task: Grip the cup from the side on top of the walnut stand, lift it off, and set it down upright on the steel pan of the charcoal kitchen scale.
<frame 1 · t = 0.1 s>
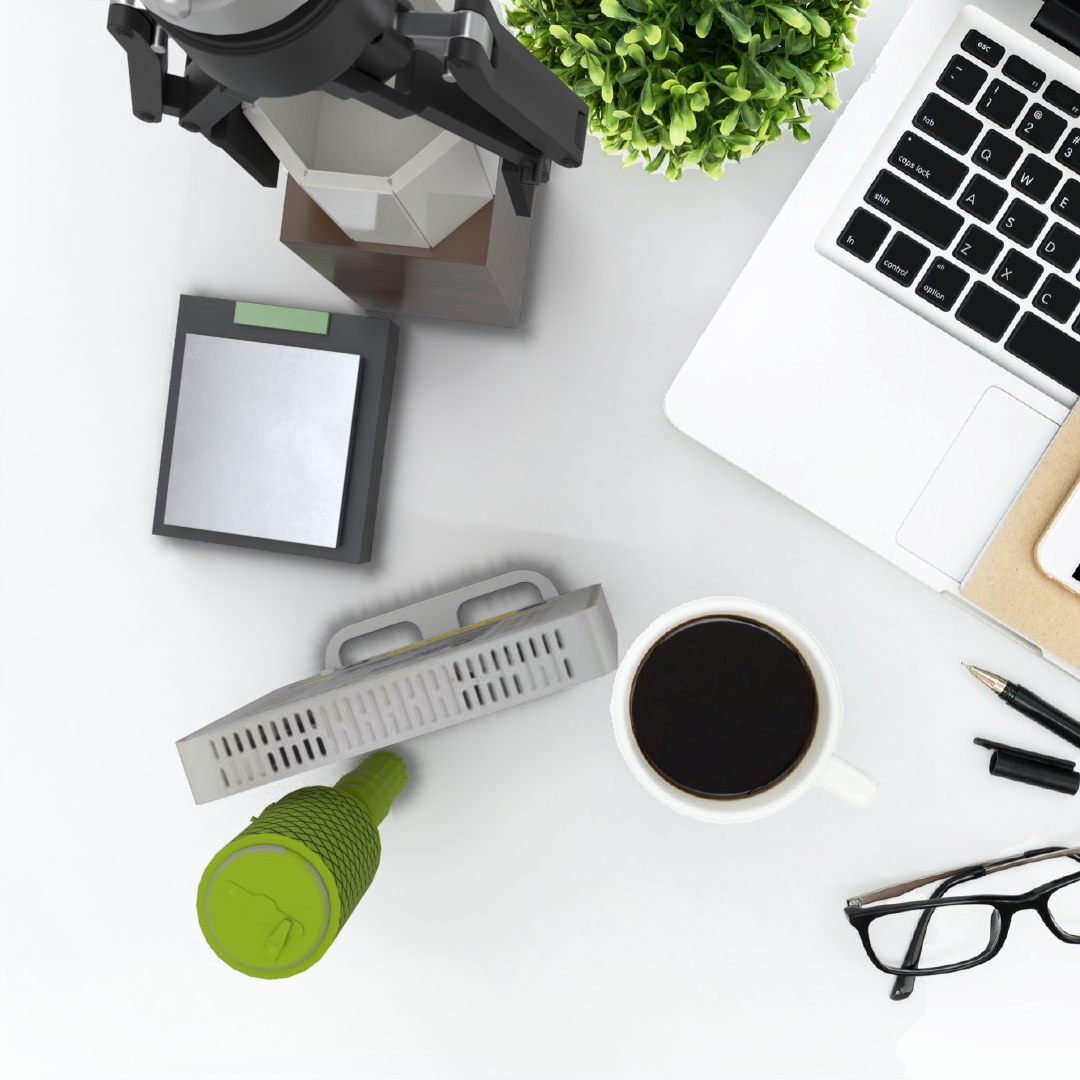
hand: (398, 176, 49), 22 cm above the table, tool pointing down, fingers open, 13 cm apart
scale: (283, 432, 72), on the table
scale pan: (263, 441, 68), point 4 cm above the table, slide at 0.1 cm
network device: (449, 651, 71), on the table
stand: (450, 239, 70), on the table
cup: (403, 146, 52), point 18 cm above the table, touching gripper, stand
microphone: (382, 771, 72), on the table
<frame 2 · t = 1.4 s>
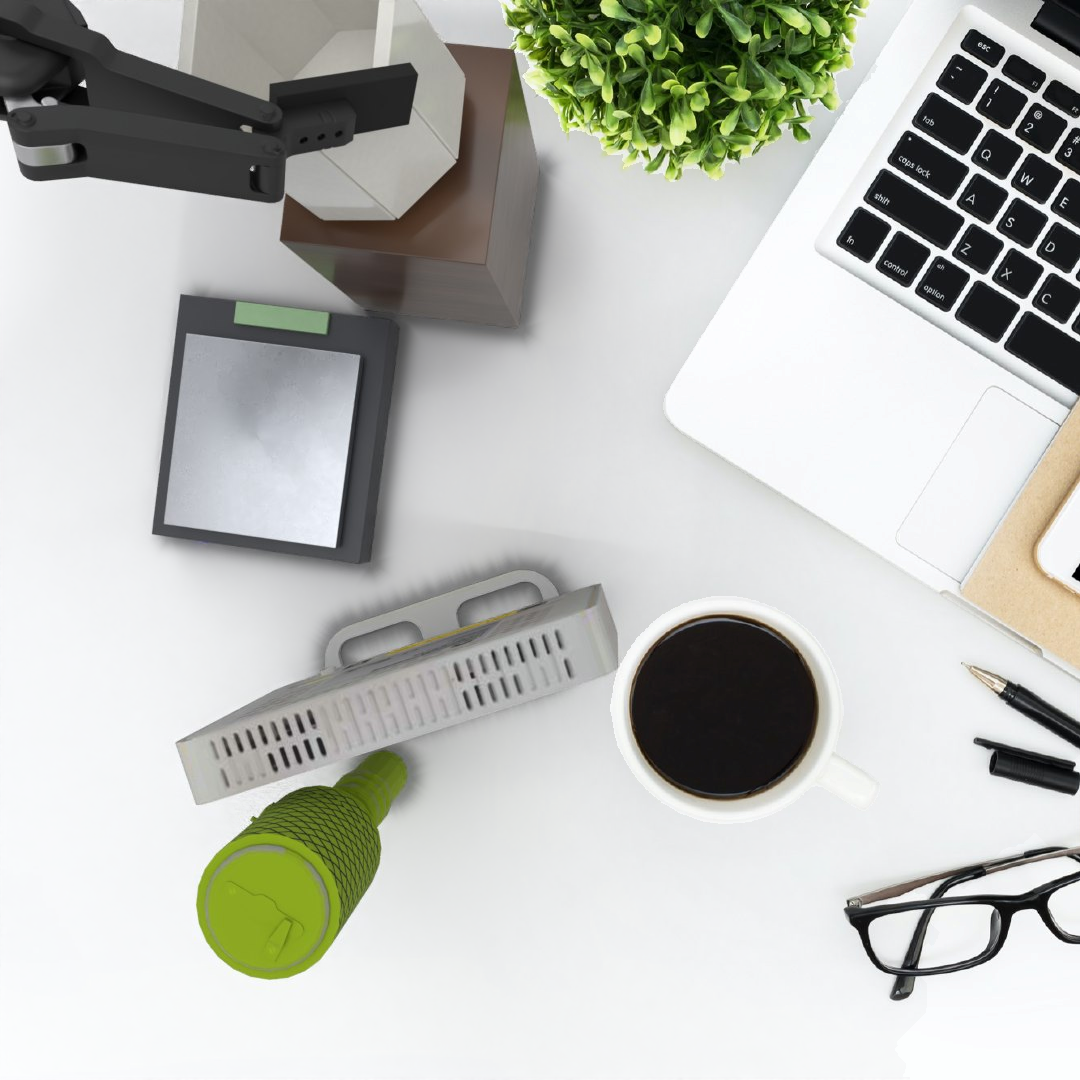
cup: (368, 121, 51), point 19 cm above the table, tilted 11°, touching gripper, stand
everything else where it was.
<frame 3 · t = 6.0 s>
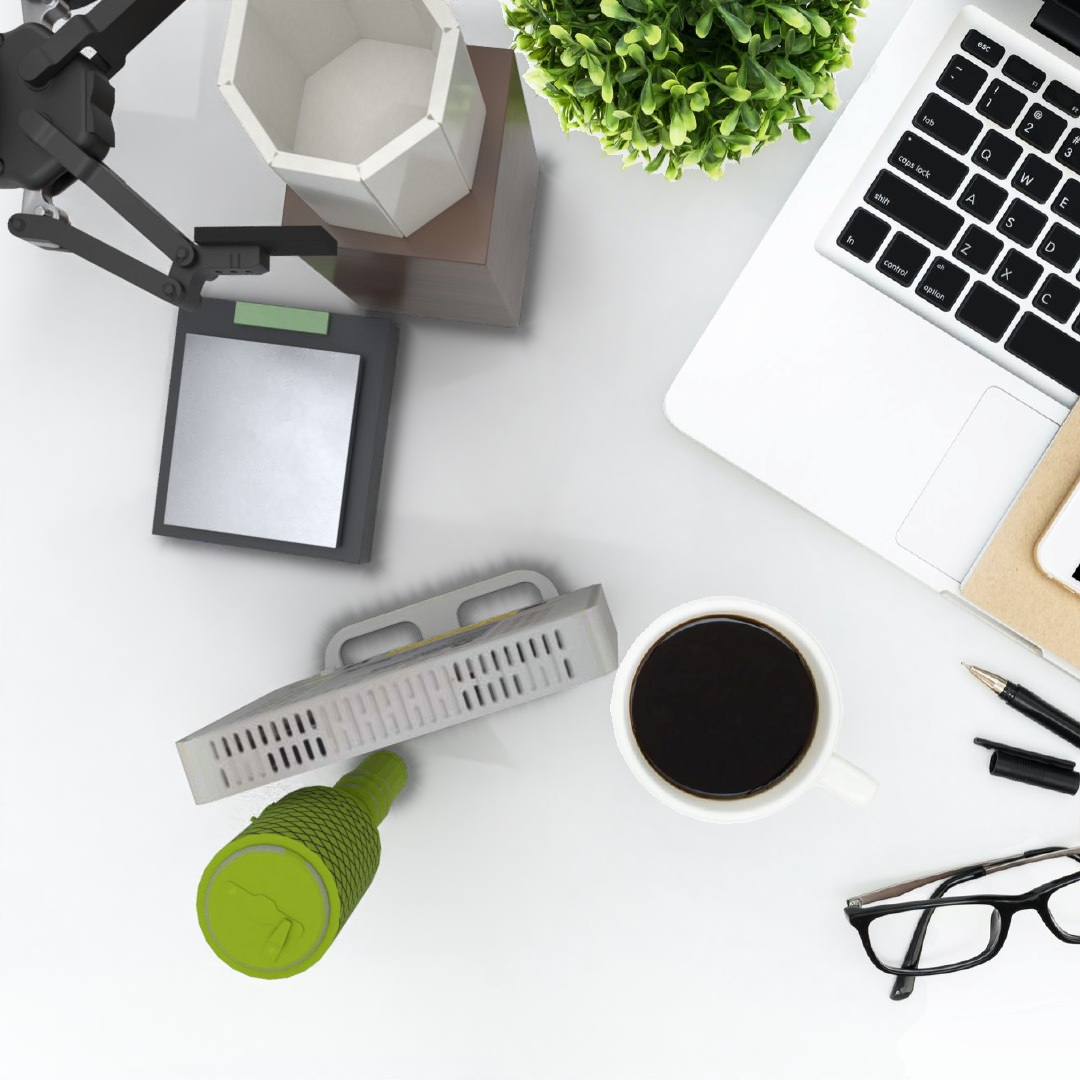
hand: (331, 105, 47), 23 cm above the table, tool horizontal, fingers open, 13 cm apart
cup: (384, 134, 52), point 18 cm above the table, touching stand
everything else where it was.
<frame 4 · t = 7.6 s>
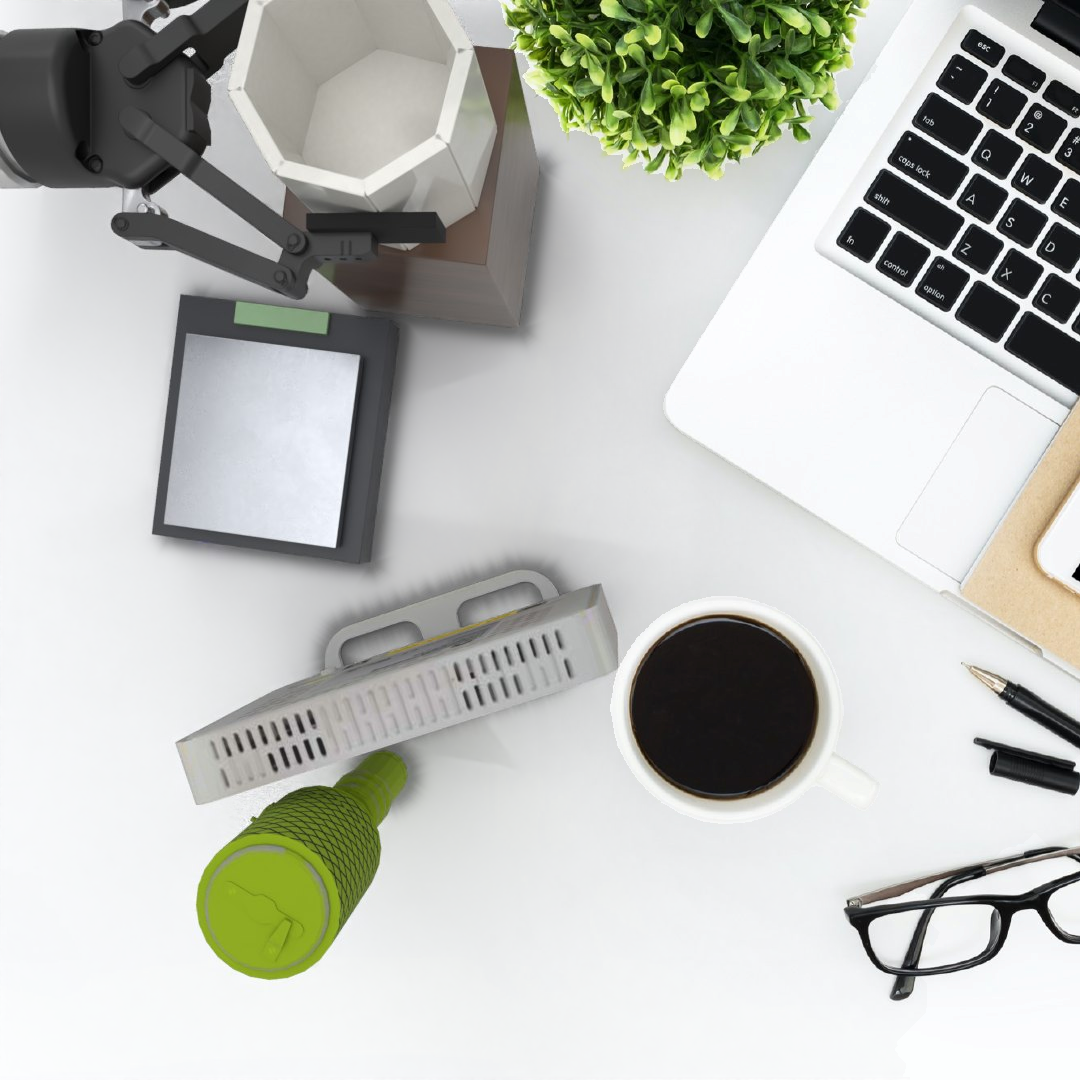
hand: (442, 102, 47), 23 cm above the table, tool horizontal, fingers closed on cup, 12 cm apart
cup: (393, 146, 52), point 18 cm above the table, touching gripper, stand
everything else where it was.
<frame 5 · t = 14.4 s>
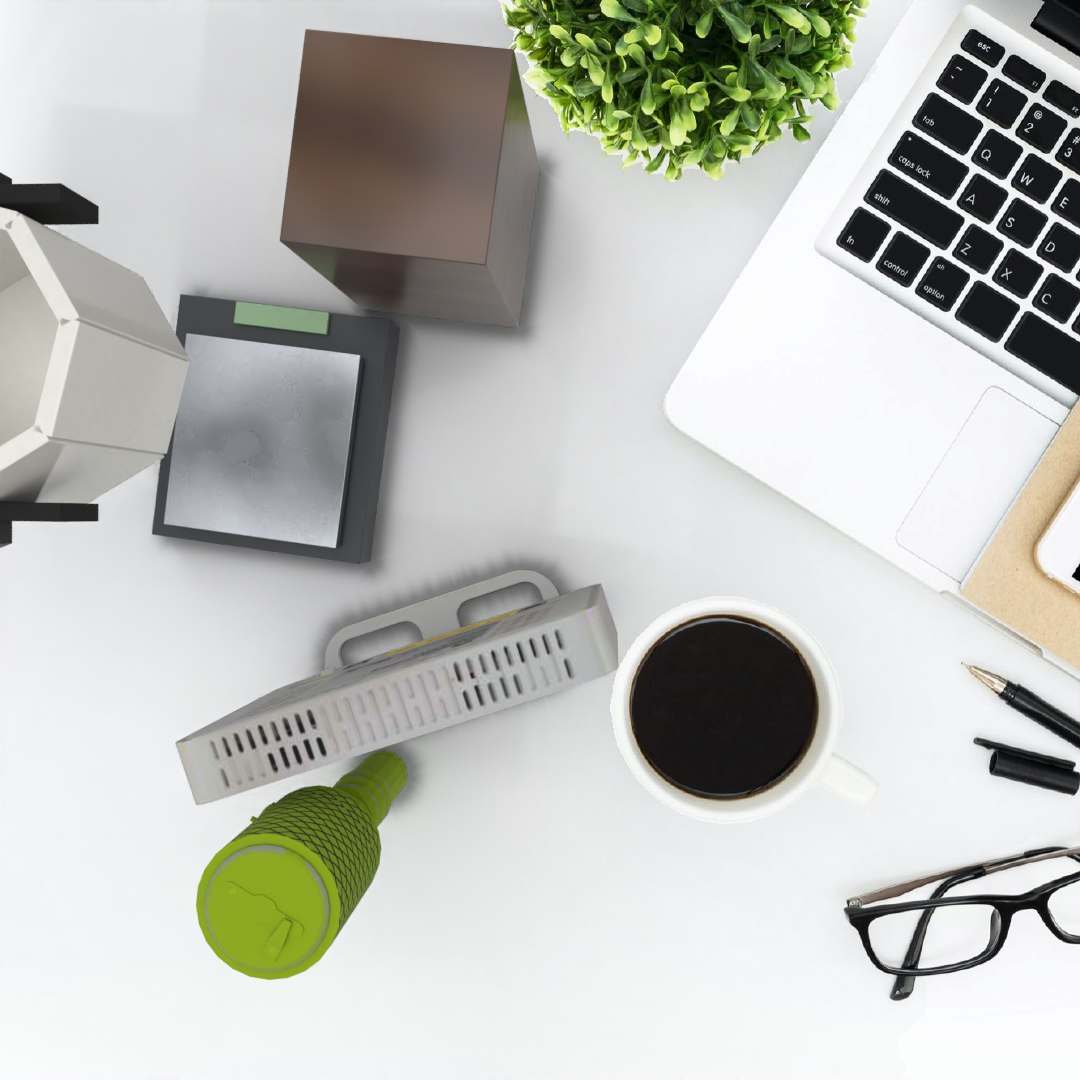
hand: (81, 359, 38), 34 cm above the table, tool horizontal, fingers closed on cup, 12 cm apart
cup: (68, 378, 43), point 28 cm above the table, touching gripper
everything else where it was.
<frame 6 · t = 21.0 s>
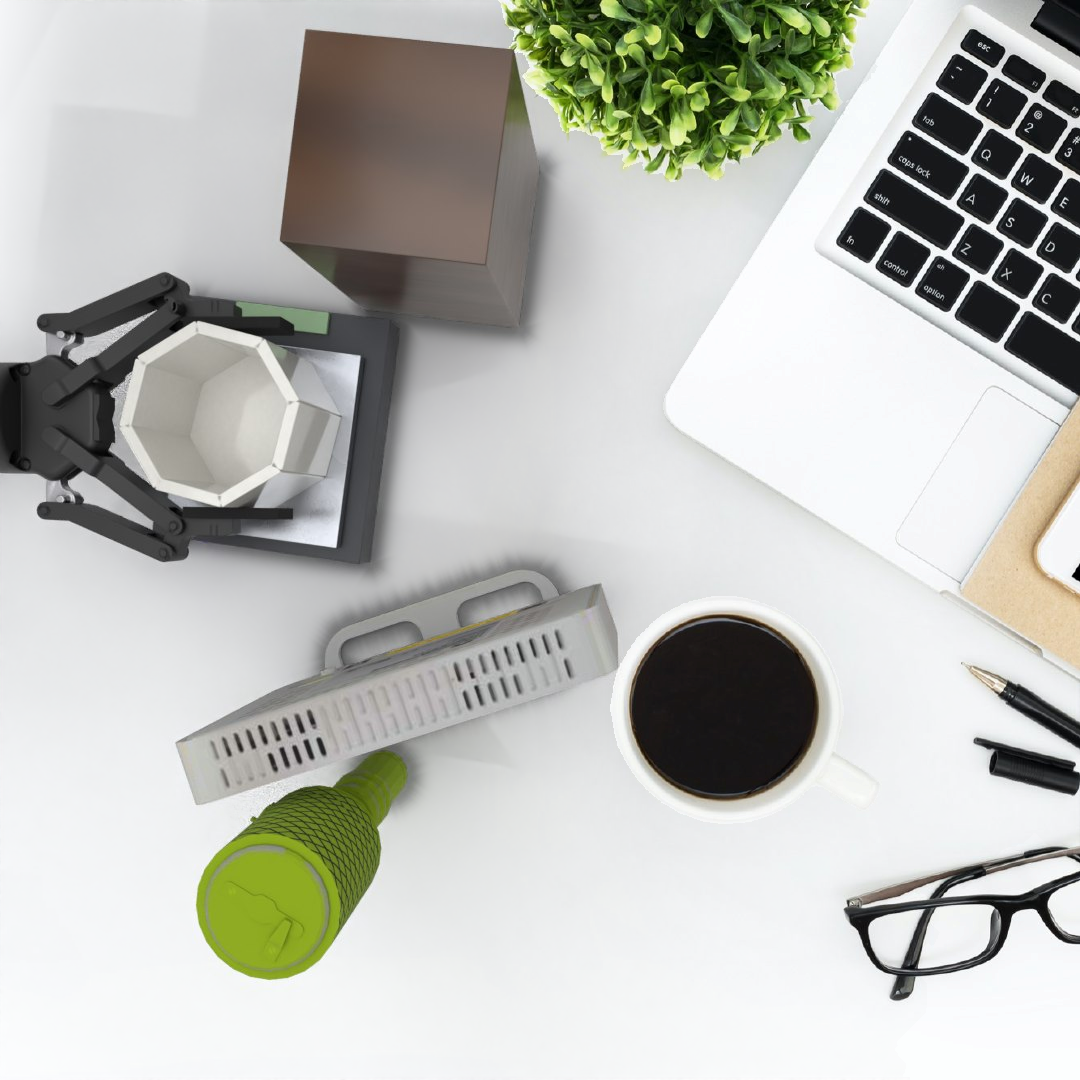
hand: (287, 420, 62), 10 cm above the table, tool horizontal, fingers closed on cup, 12 cm apart
scale pan: (264, 441, 68), point 4 cm above the table, slide at -0.1 cm, touching cup
cup: (261, 427, 68), point 4 cm above the table, touching gripper, scale pan
everything else where it was.
when the fingers open (10 cm above the table, at t = 21.2 s): cup stays where it is, resting on scale pan.
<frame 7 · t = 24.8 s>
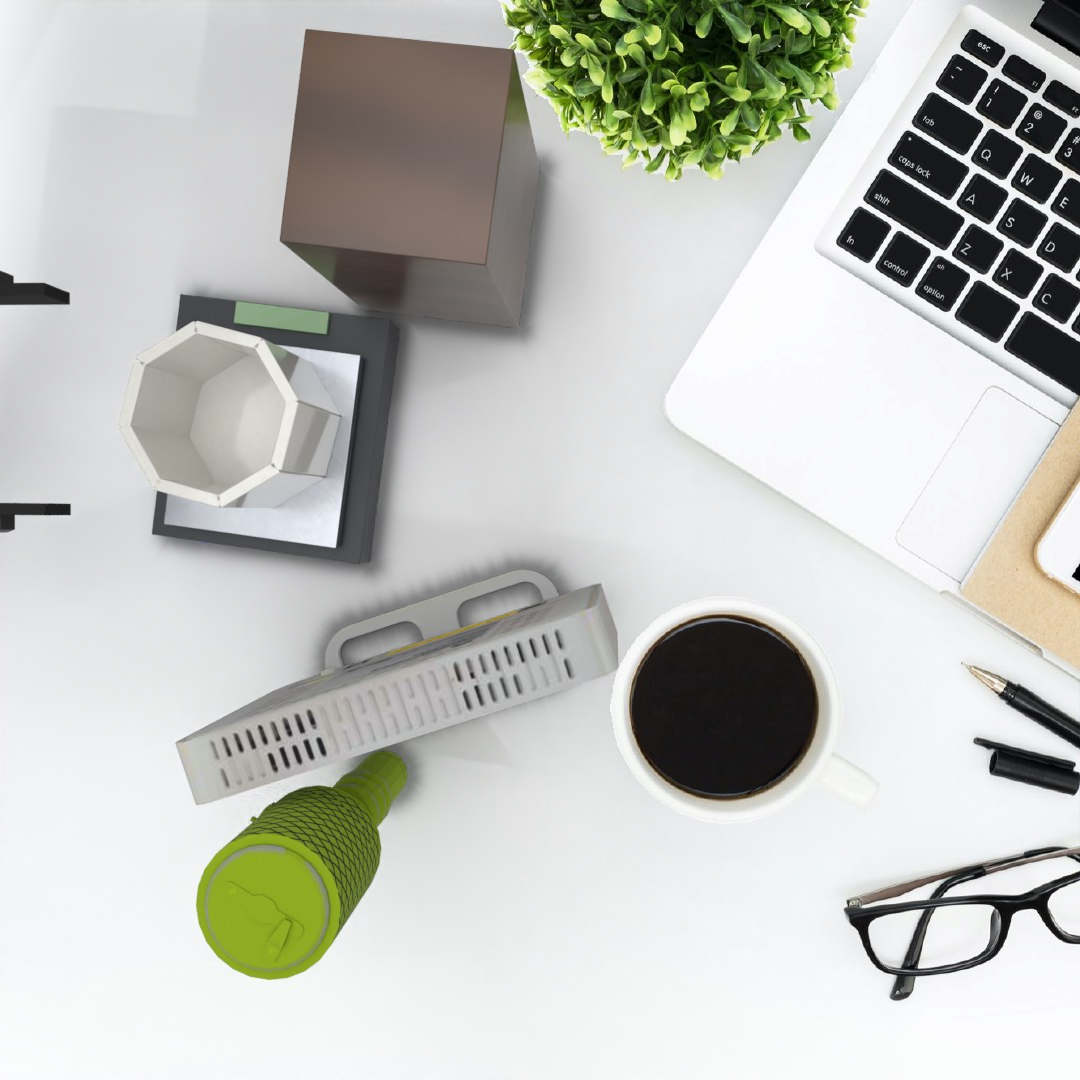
hand: (58, 402, 59), 14 cm above the table, tool horizontal, fingers open, 13 cm apart
cup: (261, 427, 67), point 4 cm above the table, touching scale pan
everything else where it was.
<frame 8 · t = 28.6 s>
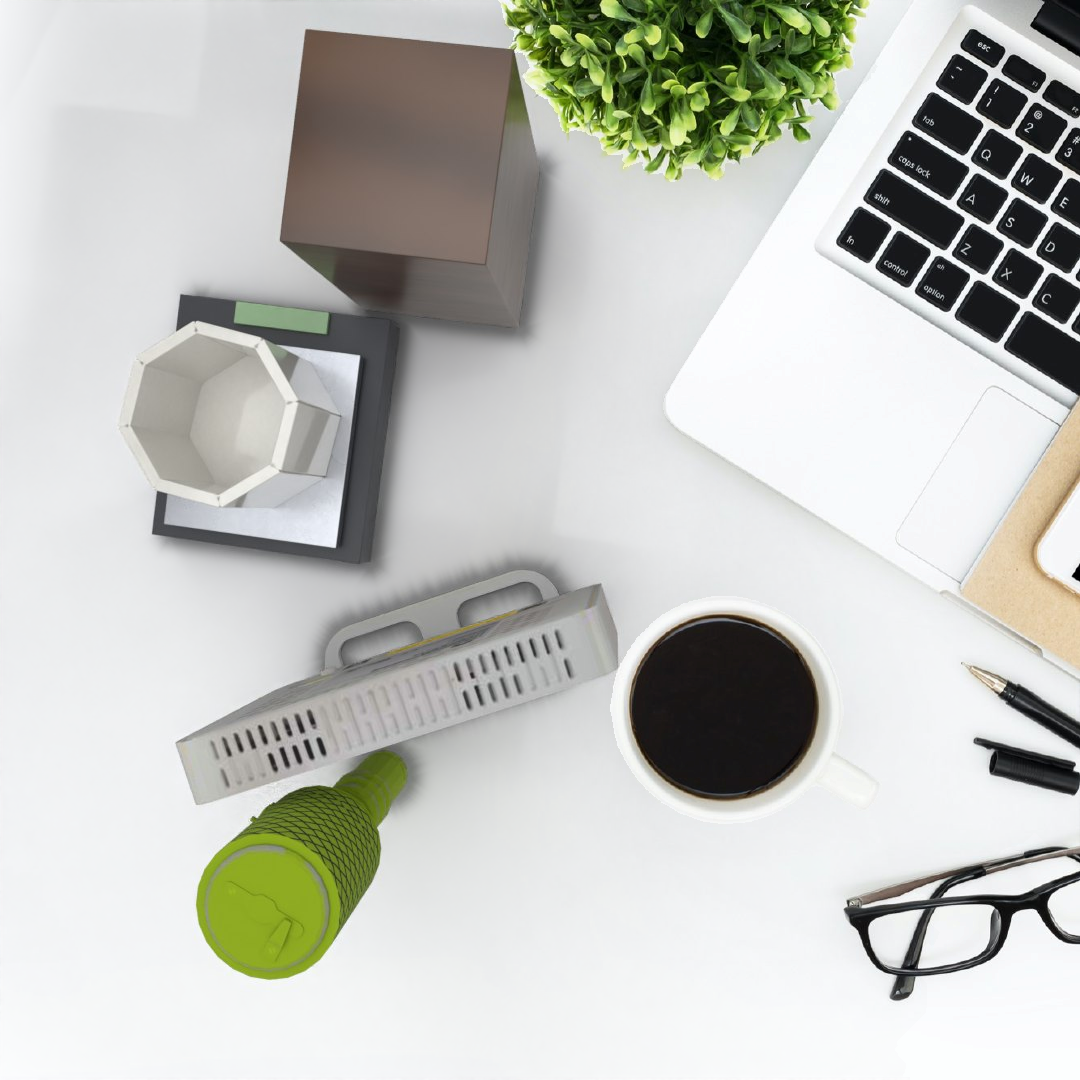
nothing on the table moved.
at the end: cup inside the target area on the scale (0.9 cm from its centre), point 4.3 cm above the scale's base; cup tilted 0°; the gripper is holding nothing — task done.
